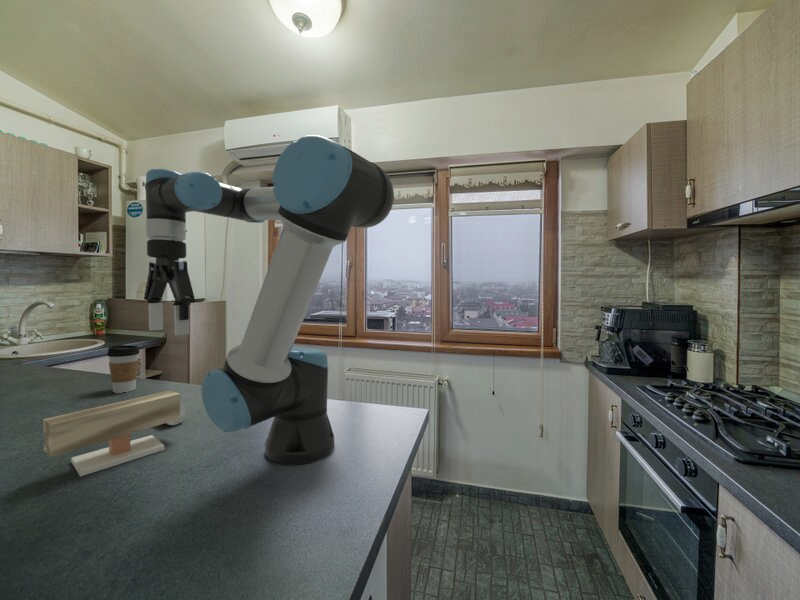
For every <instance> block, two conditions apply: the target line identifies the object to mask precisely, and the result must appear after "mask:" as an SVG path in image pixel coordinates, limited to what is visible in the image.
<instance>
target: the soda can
mask: <svg viewBox="0 0 800 600" xmlns="http://www.w3.org/2000/svg"><path fill="white" fill-rule="evenodd" d="M186 413H187V412H186V408H185V406H183V405H182V404H180V419H178V420H174V421H171V422H168V423H164V424H166V425H167V426H176V425H178V424H180V423H182V421H183V420H184V419H185V417H186Z"/></svg>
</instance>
